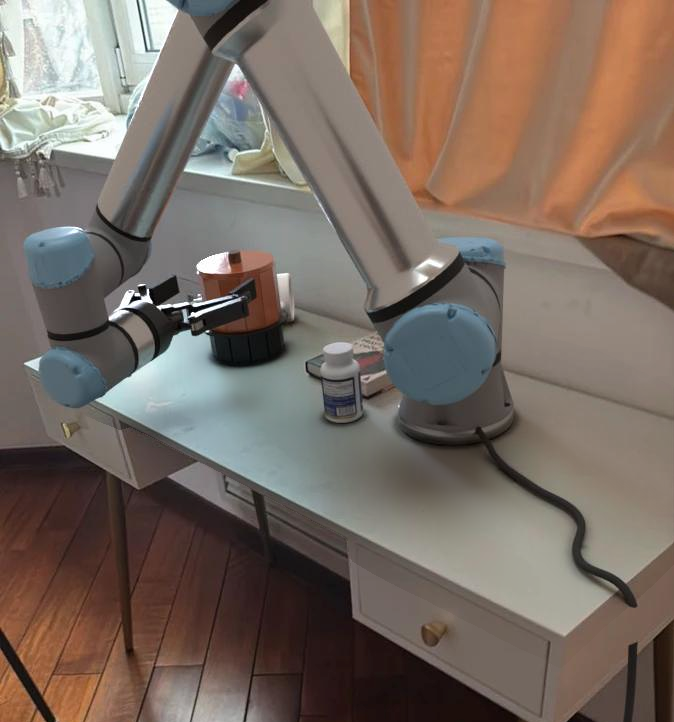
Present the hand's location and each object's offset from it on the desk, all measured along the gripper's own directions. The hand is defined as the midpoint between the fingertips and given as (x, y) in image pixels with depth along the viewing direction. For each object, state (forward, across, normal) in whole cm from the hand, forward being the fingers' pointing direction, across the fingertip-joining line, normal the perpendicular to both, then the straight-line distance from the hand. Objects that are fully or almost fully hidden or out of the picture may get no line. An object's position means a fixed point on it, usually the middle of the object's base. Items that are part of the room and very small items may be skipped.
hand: (214, 285), depth 128 cm
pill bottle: (-11, +25, -13) cm, 30 cm away
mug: (+19, -3, -13) cm, 23 cm away
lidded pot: (+7, 0, -8) cm, 11 cm away
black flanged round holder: (+7, 0, -13) cm, 15 cm away
